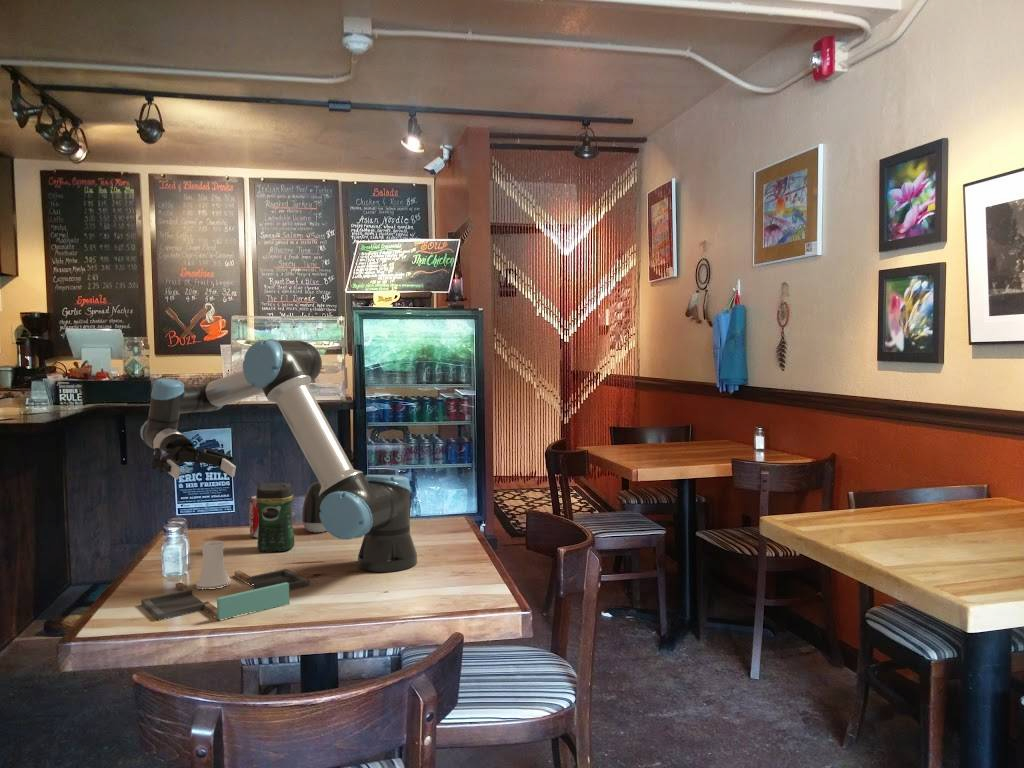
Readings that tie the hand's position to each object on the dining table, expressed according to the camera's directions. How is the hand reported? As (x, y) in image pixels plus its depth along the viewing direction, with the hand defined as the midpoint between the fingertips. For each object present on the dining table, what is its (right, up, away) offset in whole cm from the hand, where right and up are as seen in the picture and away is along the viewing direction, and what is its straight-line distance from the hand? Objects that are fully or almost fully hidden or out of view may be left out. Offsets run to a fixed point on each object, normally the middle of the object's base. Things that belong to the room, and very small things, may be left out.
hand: (206, 472), depth 172 cm
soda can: (-1, -24, +40) cm, 47 cm away
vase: (+4, -26, -6) cm, 27 cm away
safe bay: (+20, -26, -24) cm, 41 cm away
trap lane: (+11, -26, -13) cm, 31 cm away
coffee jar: (+8, -25, +26) cm, 37 cm away
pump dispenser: (+15, -24, +47) cm, 54 cm away
